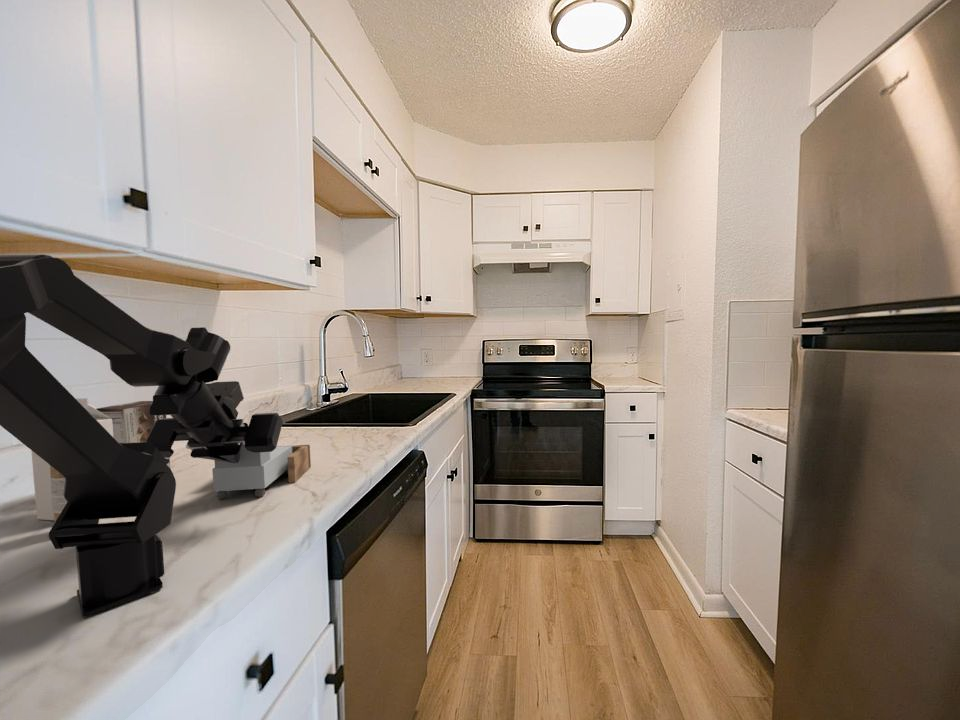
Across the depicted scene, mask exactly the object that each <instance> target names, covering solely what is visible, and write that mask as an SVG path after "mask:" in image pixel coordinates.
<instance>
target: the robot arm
mask: <svg viewBox="0 0 960 720" xmlns="http://www.w3.org/2000/svg"><path fill="white" fill-rule="evenodd" d="M27 313H28V314H30V315H32V316H33V317H35V318H37V319H38V320H40V321H43V322H44V323H46V324H47V325H50V326H51V327H52V328H54V329H57V330H59V331H60V332H62V333H64V334H65V335H67V336H69V337H71V338H73V339H74V340H77V341H78V342H80V343H82V344H83V345H85V346H87V347H88V348H90V349H92V350H94V351H96V352H98V353H99V354H101V355H102V356H104V357H105V358H106V359H108V360H109V370H110V371H112V373H114V374H115V375H116V376H118V378H120V379H121V380H122V381H124V382H125V383H126V384H127V385H129V386H131V387H135V388H138V387H139V388H141V387H157V389H156V390H155V392H154V395H153V396H152V401H153V402H152V404H151V406H150V411H149V414H150V415H151V416H157V415H166V416H170V417H166V418H162V419H158V420H157V421H156V422H155V424H154V425H153V427H152V429H151V431H150V433H149V435H148V437H147V439H146V441H145V442H137V443H118V442H117V441H116V440H115V439H114V438H113V437H112V435H111V434H110V433H109V432H108V431H107V430H106V429H105V428H104V427H103V426H102V425H101V424H100V423H99V422H98V421H97V420H96V419H95V418H94V417H93V416H92V415H91V414H90V413H89V412H88V411H87V410H86V409H85V408H84V407H83V406H82V405H81V404H80V403H79V402H78V401H77V400H76V399H75V398H76V397H74V395H73V394H72V393H70V391H69V390H68V389H67V388H66V387H65V386H64V385H63V384H62V383H61V382H60V381H59V380H58V379H57V378H56V377H55V376H54V375H53V374H52V373H51V371H49V369H47V368H46V366H45V365H43V363H42V362H40V360H38V359H37V358H36V357H35V356H34V354H32V353H31V351H30V350H29V349H28V348H27V346H26V331H27V330H26V329H27V317H26V315H25V314H27ZM230 351H231V345H230V343H229V341H228V340H226V339H225V338H223V337H222V336H221V335H218V334H216V333H212V332H209V331H208V330H207V327H191V328H190V329H189V331H188V333H187V336H186V339H182V338H180V337H178V336H176V335H174V334H170V333H166V332H163V331H158V330H154V329H151V328H149V327H146V326H145V325H143V324H142V323H141V322H139V321H138V320H136V319H135V318H133V316H131V315H130V314H129V313H127V312H126V311H125V310H122V308H120V307H118V306H117V305H116V304H114V303H113V302H112V301H110V300H109V299H108V298H106V297H105V296H104V295H102V294H101V293H99V292H98V291H97V290H95V289H94V288H93V287H91V286H90V285H89V284H87V283H86V282H85V281H83V280H82V279H81V278H80V277H78V276H77V275H75V273H74V272H73V270H72V268H71V267H70V265H69V264H68V263H67V262H66V261H64V260H62V259H60V258H59V257H54V256H51V255H47V254H42V253H41V254H0V427H1V428H3V429H4V430H5V431H7V433H9V434H10V435H12V436H13V437H14V438H16V440H18V441H19V442H20V443H22V444H23V445H25V446H26V447H27V448H28V449H29V450H32V451H33V452H34V453H36V454H37V455H38V456H39V457H41V458H42V459H43V460H44V461H46V462H47V463H48V464H49V465H51V466H52V467H53V468H54V469H56V470H57V471H58V472H59V473H61V474H62V475H63V476H64V477H65V484H64V493H63V496H64V498H65V499H66V500H67V501H68V502H67V504H66V505H65V507H64V509H63V510H62V512H61V513H60V515H59V517H58V518H57V520H56V522H55V521H54V523H53V525H52V527H51V528H50V530H49V532H48V535H47V536H48V537H49V539H50V540H49V541H50V542H51V544H52V546H53V548H54V549H55V550H63V549H67V548H75V556H76V566H77V582H78V589H77V590H76V596H77V600H78V605H79V609H80V615H81V617H82V618H85V617H89V616H92V615H95V614H97V613H100V612H103V611H105V610H107V609H111V608H113V607H116V606H119V605H121V604H125V603H126V602H129V601H132V600H135V599H138V598H140V597H143V596H145V595H148V594H151V593H154V592H156V591H159V590H162V589H163V585H164V584H163V581H162V579H161V577H164V575H165V563H164V560H165V559H164V548H163V540H162V539H161V537H160V536H159V535H158V534H159V533H160V532H161V531H163V530H164V529H166V528H167V527H169V526H170V525H171V523H172V515H173V509H174V503H175V502H174V501H175V496H176V489H177V481H176V478H175V475H174V472H173V471H172V470H171V469H170V468H171V467H170V468H169V466H167V465H166V464H168V463H169V462H170V463H171V457H172V456H173V454H174V453H175V450H174V449H172V447H173V445H174V442H182V441H183V442H184V441H185V442H186V441H187V442H186V445H185V449H187V450H189V449H190V450H191V453H190V457H191V458H194V459H203V460H212V461H215V460H217V461H223V462H229V463H238V462H239V459H240V452H241V449H242V446H243V443H244V442H245V448H246V449H247V451H251V452H254V453H258V452H272V451H273V450H274V449H276V447H277V446H278V441H279V437H280V434H281V430H282V428H283V424H284V421H283V419H282V417H281V415H280V414H279V413H278V412H265V413H262V412H261V413H254V414H252V415H251V417H250V420H249V423H247V422H244V419H243V418H238V415H239V412H238V410H237V408H238V406H239V405H240V403H241V402H242V401H244V395H243V392H242V388H241V384H240V382H239V381H235V380H234V381H218V379H219V377H220V376H221V372H222V370H223V368H224V366H225V362H226V360H227V358H228V356H229V355H230V354H229V353H230ZM214 381H215V382H214ZM166 458H170V460H169V459H166ZM121 518H122V519H123V518H135V519H134V521H133V520H132V521H120V522H119V521H118V522H116V521H115V522H105V523H99V522H100V520H105V519H106V520H107V519H121Z"/></svg>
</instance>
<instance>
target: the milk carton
mask: <svg viewBox="0 0 960 720" xmlns="http://www.w3.org/2000/svg"><path fill="white" fill-rule="evenodd" d="M74 398H75V399H76V400H77V401H78V402H79V403H80V404H81V405H82V406H83V407H84V408H85V409H86V410H87V411H88V412H89V413H90V414H91V415H92V416H93V417H94V418H95V419H96V420H97V421H98V422H99V423H100V424H101V425H102V426H103V427H104V428H105V429H106V430H107V431H108V432H109V433H110V434H111V435H112V437H113V424H112V418H110V417H108V416H107V415H105V414H103V413H102V412H100V411H98V410H96V409H97V407H95V406H93V405H92V404H89V398H85V397H84V398H82V397H81V398H77V397H74ZM113 438H114V437H113ZM30 450H31V449H30ZM30 452H31V461H32V463H31V464H32V473H33V474H32V475H33V484H34V485H33V486H34V496H35V498H34V499H35V507H36V508H35V510H36V519H37V520H44V521H55V520H54V512H53V505H52V493H51V481H50V477H51V474H50V465H49V464H48V463H47V462H46V461H44V460H43V459H42V458H41V457H39V456H38V455H37V454H36V453H34V452H33V451H32V450H31V451H30Z"/></svg>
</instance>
